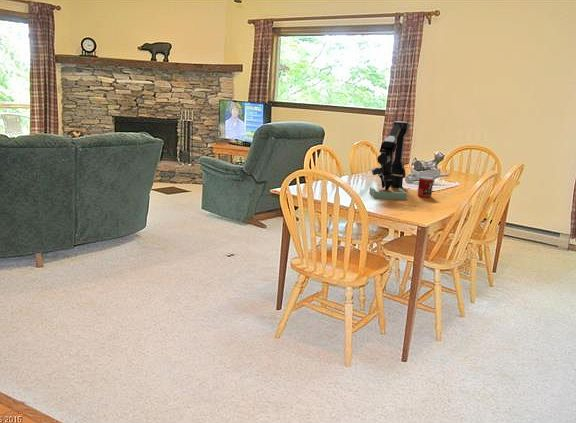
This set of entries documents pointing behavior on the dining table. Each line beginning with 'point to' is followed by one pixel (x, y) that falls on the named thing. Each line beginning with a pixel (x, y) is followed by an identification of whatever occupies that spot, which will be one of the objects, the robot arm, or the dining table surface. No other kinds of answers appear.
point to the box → (389, 194)
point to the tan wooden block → (385, 190)
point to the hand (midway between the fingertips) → (384, 189)
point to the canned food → (425, 186)
